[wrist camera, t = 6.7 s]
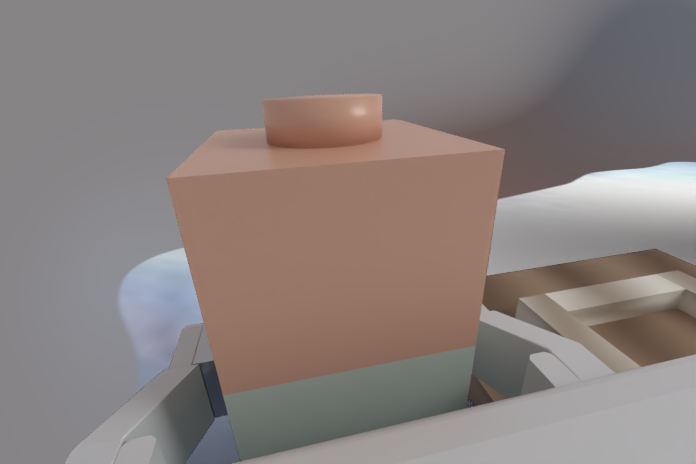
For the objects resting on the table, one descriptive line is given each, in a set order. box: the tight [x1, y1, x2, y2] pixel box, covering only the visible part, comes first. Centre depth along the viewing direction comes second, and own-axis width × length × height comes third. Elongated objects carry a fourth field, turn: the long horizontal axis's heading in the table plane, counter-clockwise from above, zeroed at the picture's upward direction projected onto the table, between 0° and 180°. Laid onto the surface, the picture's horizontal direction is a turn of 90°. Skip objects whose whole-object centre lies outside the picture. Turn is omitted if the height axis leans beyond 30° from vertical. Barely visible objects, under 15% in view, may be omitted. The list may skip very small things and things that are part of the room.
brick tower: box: [167, 94, 505, 461], centre depth 9 cm, size 5×5×13 cm
